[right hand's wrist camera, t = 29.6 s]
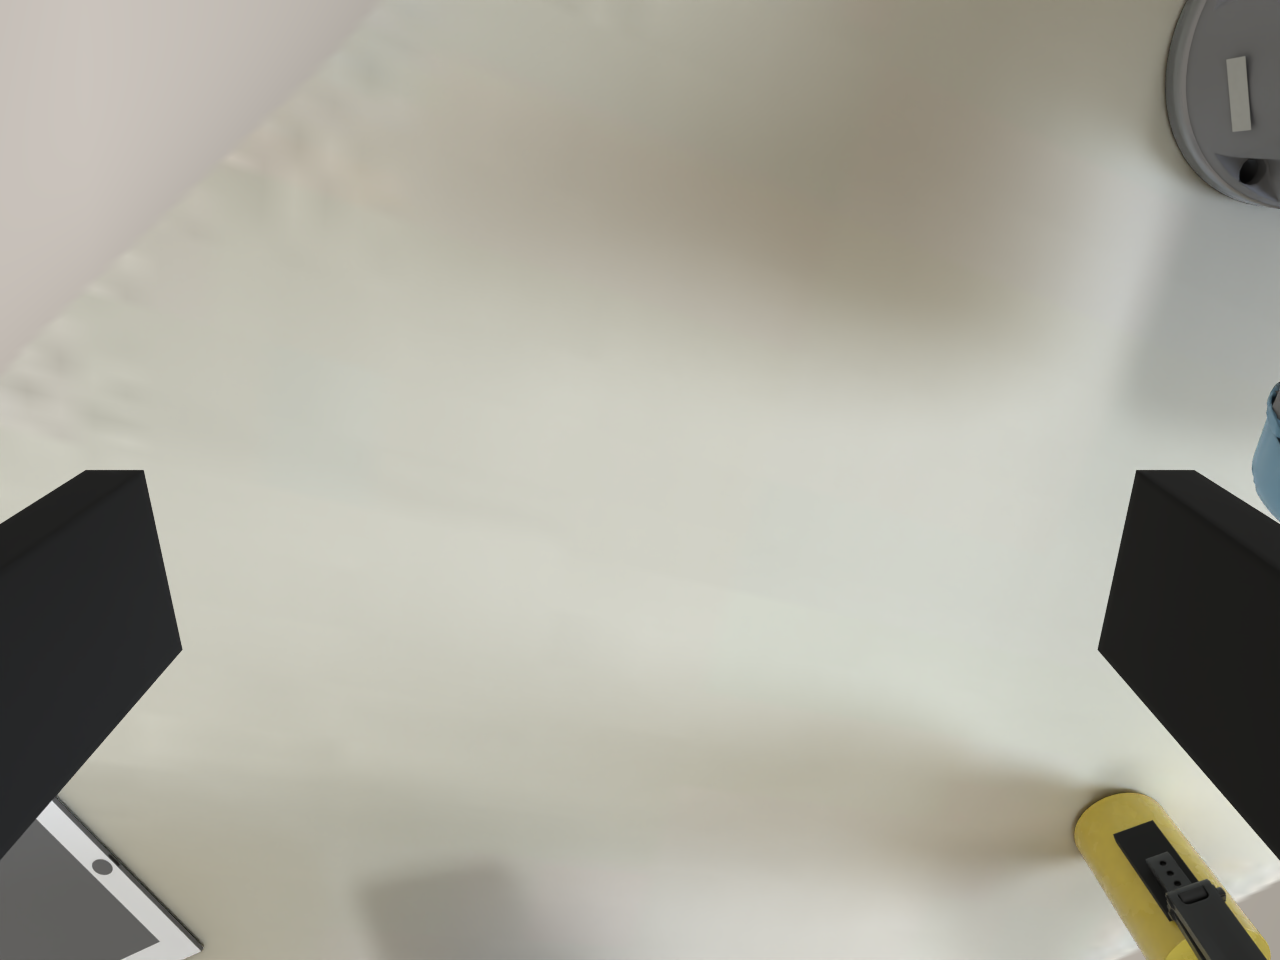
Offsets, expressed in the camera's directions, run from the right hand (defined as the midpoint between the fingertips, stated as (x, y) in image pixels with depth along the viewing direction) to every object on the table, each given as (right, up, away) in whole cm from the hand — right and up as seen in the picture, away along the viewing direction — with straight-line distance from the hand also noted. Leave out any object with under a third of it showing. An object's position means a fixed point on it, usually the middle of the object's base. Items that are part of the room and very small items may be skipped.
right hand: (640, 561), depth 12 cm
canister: (+34, -24, +53) cm, 67 cm away
